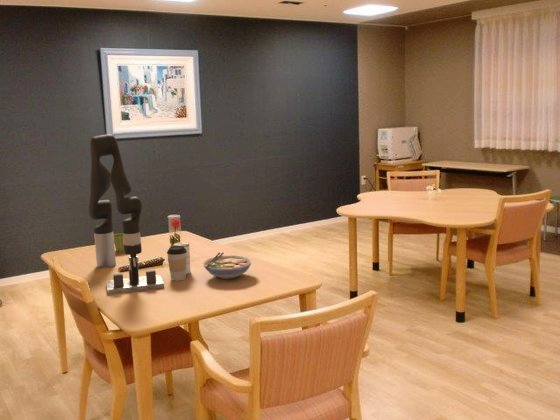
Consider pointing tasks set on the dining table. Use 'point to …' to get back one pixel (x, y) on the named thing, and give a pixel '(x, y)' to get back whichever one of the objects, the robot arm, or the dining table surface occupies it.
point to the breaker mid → (131, 275)
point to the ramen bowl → (227, 265)
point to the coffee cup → (177, 262)
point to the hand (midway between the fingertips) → (135, 280)
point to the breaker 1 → (118, 279)
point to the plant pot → (119, 242)
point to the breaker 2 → (150, 276)
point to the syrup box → (186, 246)
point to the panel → (134, 285)
